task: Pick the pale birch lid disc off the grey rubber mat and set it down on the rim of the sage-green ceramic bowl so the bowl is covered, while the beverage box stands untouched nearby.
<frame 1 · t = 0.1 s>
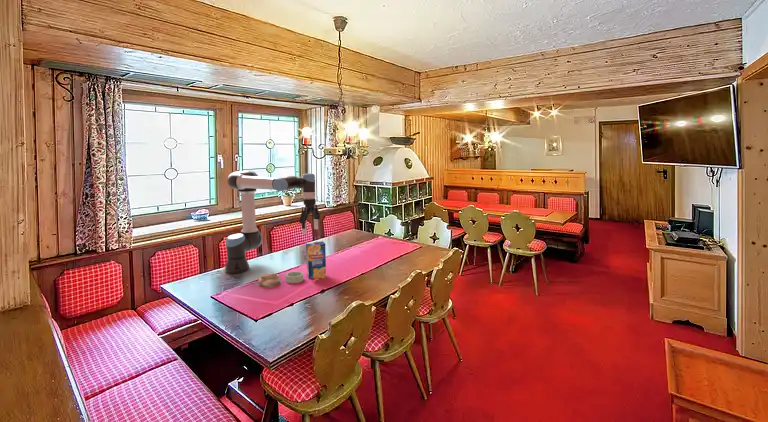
hand: (310, 231, 248), 28 cm above the table, fingers open, 13 cm apart
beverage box: (316, 277, 245), on the table
mat: (269, 284, 232), on the table
bowl: (294, 281, 237), on the table
lid: (269, 283, 232), point 1 cm above the table, touching mat
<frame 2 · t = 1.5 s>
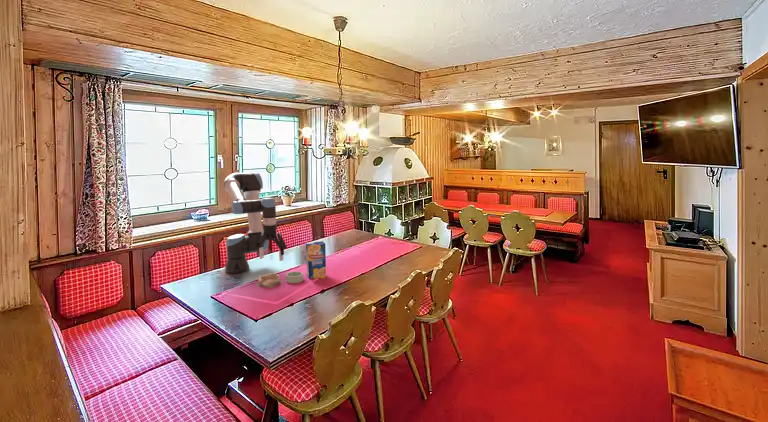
hand: (271, 259, 231), 15 cm above the table, fingers open, 13 cm apart
nothing on the table moved.
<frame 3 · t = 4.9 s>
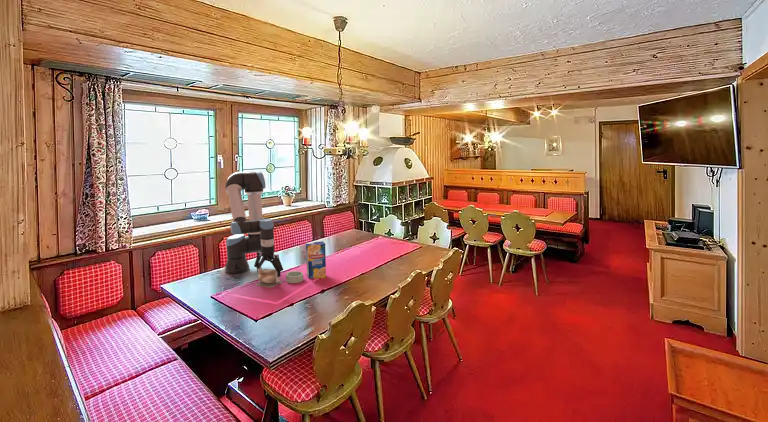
hand: (269, 280, 232), 3 cm above the table, fingers closed on lid, 12 cm apart
lid: (269, 279, 232), point 3 cm above the table, touching gripper
everything else where it was.
when the fingers open (6 cm above the table, at t = 9.7 s): lid drops 2 cm, resting on bowl.
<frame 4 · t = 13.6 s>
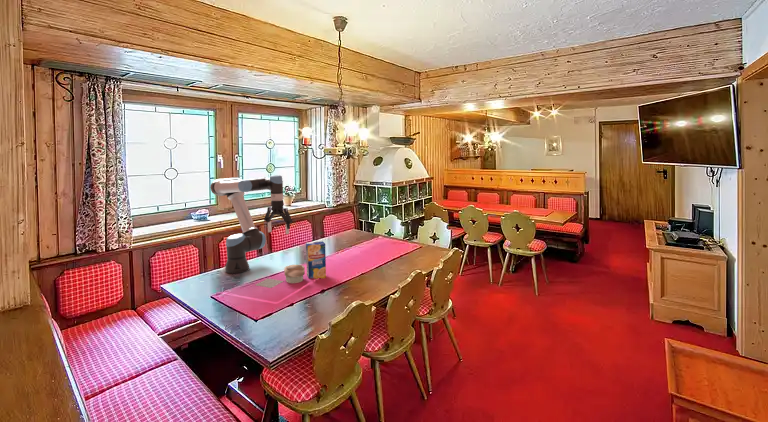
hand: (278, 232, 248), 27 cm above the table, fingers open, 13 cm apart
bowl: (294, 281, 237), on the table, touching lid
lid: (294, 274, 237), point 5 cm above the table, touching bowl
everything else where it was.
at the end: lid 0.2 cm off-centre on the bowl, point 5.0 cm above the bowl's base; lid tilted 0°; the gripper is holding nothing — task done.
